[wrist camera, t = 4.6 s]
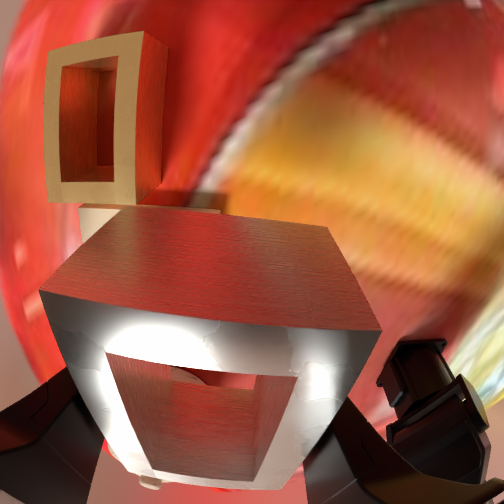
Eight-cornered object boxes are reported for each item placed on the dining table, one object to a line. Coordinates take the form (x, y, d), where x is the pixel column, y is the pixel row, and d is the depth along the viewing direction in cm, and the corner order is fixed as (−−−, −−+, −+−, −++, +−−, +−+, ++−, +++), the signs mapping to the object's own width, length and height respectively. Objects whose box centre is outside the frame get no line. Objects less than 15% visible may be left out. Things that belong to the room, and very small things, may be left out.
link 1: (87, 58, 14) (48, 51, 10) (169, 47, 14) (143, 30, 10) (84, 182, 18) (48, 202, 14) (161, 183, 18) (135, 205, 14)
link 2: (125, 205, 8) (38, 289, 4) (326, 227, 8) (382, 330, 4) (150, 390, 12) (128, 471, 8) (275, 405, 12) (280, 489, 8)
